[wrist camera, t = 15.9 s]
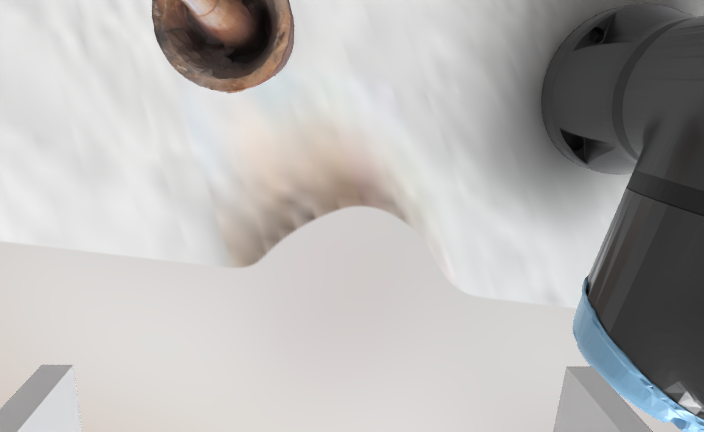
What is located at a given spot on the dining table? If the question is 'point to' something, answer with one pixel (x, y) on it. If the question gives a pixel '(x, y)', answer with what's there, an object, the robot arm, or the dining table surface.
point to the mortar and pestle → (225, 40)
